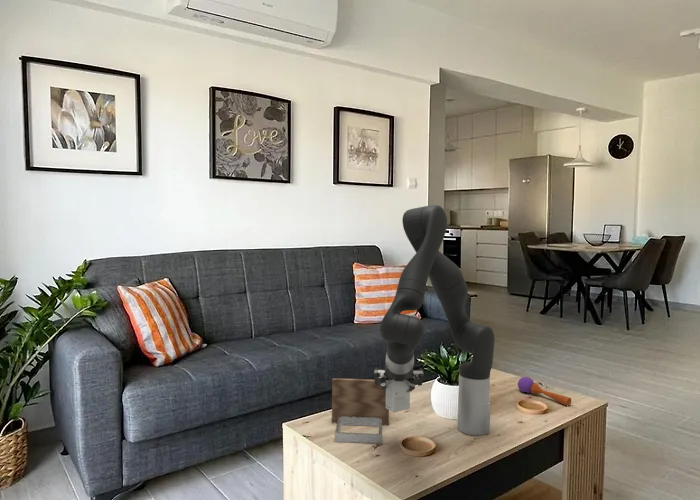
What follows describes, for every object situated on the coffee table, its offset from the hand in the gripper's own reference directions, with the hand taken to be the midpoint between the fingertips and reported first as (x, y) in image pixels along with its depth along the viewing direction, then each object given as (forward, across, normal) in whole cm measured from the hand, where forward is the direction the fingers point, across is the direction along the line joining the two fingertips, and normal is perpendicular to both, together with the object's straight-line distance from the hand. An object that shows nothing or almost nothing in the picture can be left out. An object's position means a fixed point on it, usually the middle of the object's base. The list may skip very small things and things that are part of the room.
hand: (397, 388), depth 147 cm
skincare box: (+3, 0, +5) cm, 6 cm away
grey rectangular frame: (+13, +11, +9) cm, 19 cm away
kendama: (+39, -55, -16) cm, 69 cm away
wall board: (+19, +11, +3) cm, 22 cm away
